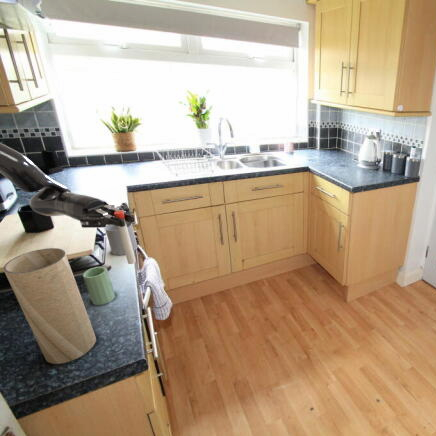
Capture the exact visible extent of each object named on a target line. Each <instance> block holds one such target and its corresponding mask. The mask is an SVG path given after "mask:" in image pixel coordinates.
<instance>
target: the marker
mask: <svg viewBox="0 0 436 436" xmlns="http://www.w3.org/2000/svg"><path fill="white" fill-rule="evenodd" d="M114 215H115V217H118V218H122V219H123V220H124V222H125V226H124V227H120V226H118V228H119V232H120V235H121V239H122V243H123V246H124V250H125V258H126V261H127V264H128V265H133V264H135V263H136V262H137V260H136V256H135V253H134V252H135V251H133V248H132V244H131V240H130V236H129V233H128V229H127V225H126V221H125V216H124V212H123V211H116V212H114Z"/></svg>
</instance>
